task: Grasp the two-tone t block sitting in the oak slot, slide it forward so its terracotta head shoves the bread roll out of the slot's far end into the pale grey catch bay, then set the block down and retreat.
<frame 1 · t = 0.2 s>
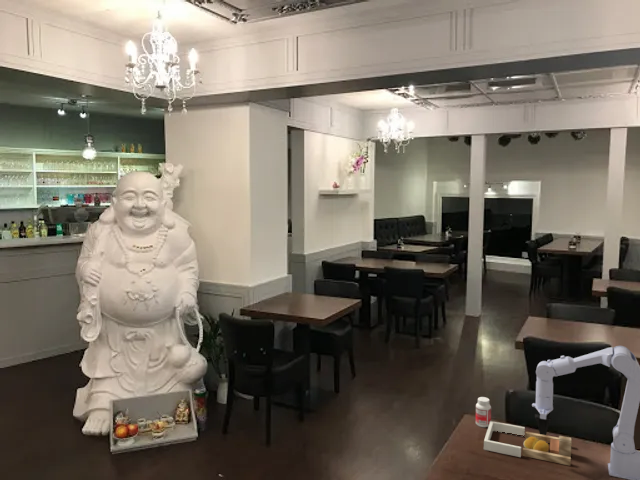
hand: (543, 429, 186), 10 cm above the table, fingers open, 7 cm apart
two-tone t block: (564, 454, 188), on the table
catch bay: (506, 442, 197), on the table
slot rails: (546, 450, 190), on the table
pill bottle: (483, 424, 212), on the table
bread roll: (536, 449, 192), on the table
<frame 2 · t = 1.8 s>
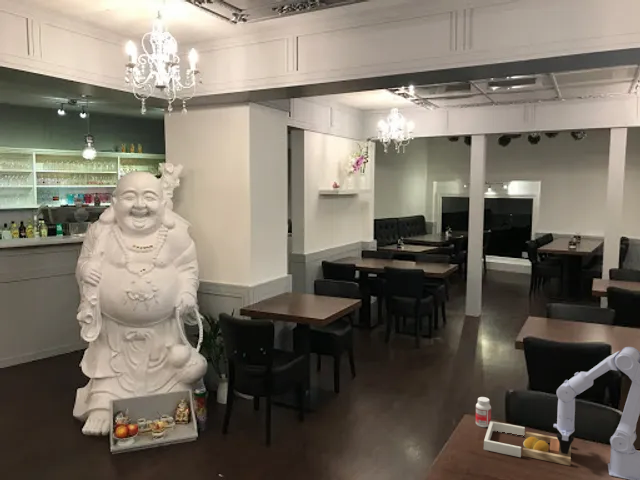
hand: (564, 450, 187), 2 cm above the table, fingers closed on two-tone t block, 4 cm apart
two-tone t block: (564, 454, 188), on the table, touching gripper
everything else where it was.
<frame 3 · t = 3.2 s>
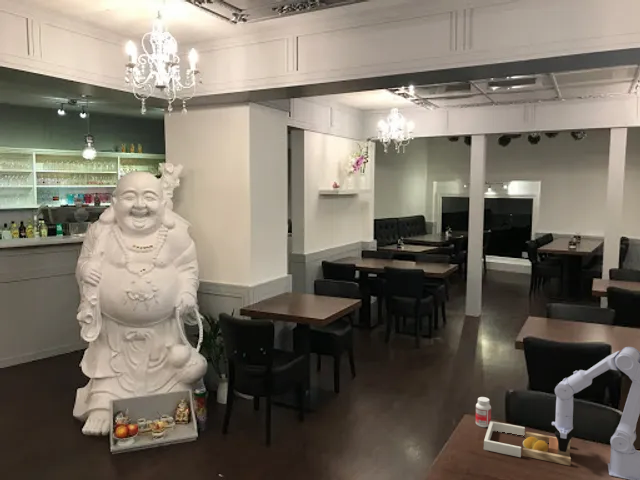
hand: (562, 448, 188), 2 cm above the table, fingers closed on two-tone t block, 4 cm apart
two-tone t block: (563, 452, 188), point 1 cm above the table, touching gripper
everything else where it was.
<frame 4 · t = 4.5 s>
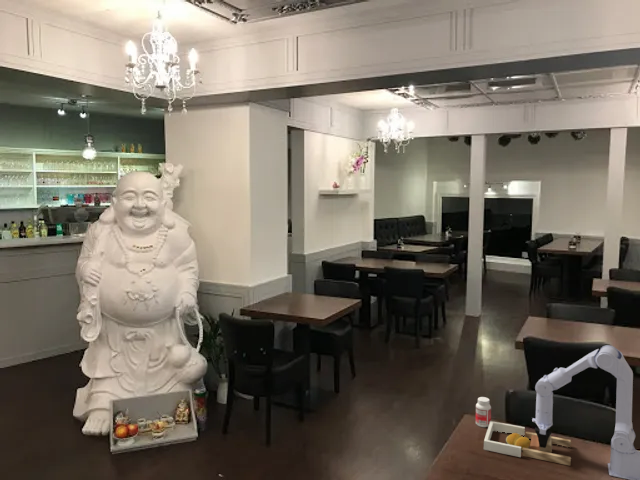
hand: (543, 444, 191), 2 cm above the table, fingers closed on two-tone t block, 4 cm apart
two-tone t block: (545, 449, 190), point 1 cm above the table, tilted 6°, touching gripper
bread roll: (518, 445, 195), on the table
everything else where it was.
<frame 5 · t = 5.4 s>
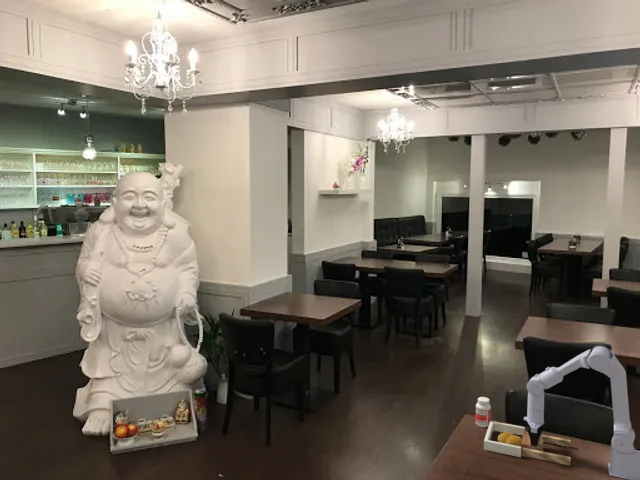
hand: (534, 442, 192), 2 cm above the table, fingers closed on two-tone t block, 4 cm apart
two-tone t block: (537, 447, 192), on the table, touching gripper
bread roll: (510, 444, 196), on the table
everything else where it was.
when the fingers open (2 cm above the table, at t = 7.1 s): two-tone t block stays where it is, on the table.
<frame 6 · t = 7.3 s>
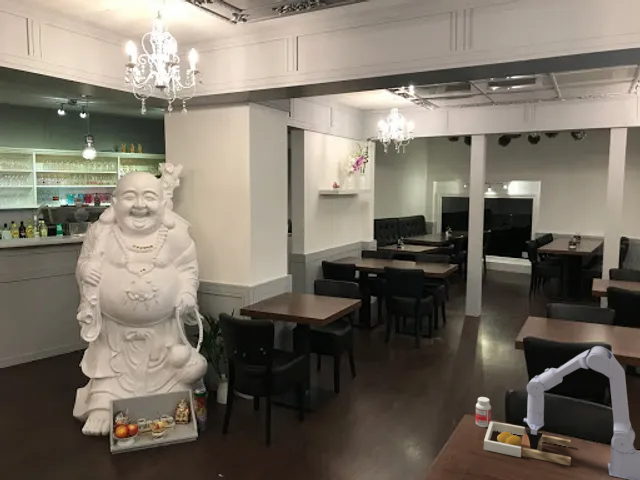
hand: (534, 444, 192), 2 cm above the table, fingers open, 7 cm apart
two-tone t block: (536, 448, 192), on the table, touching gripper
everything else where it was.
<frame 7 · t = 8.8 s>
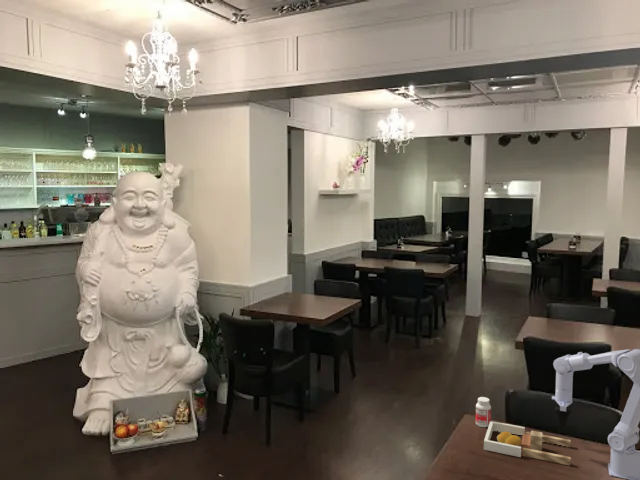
hand: (562, 421, 192), 10 cm above the table, fingers open, 7 cm apart
two-tone t block: (536, 448, 192), on the table
everything else where it was.
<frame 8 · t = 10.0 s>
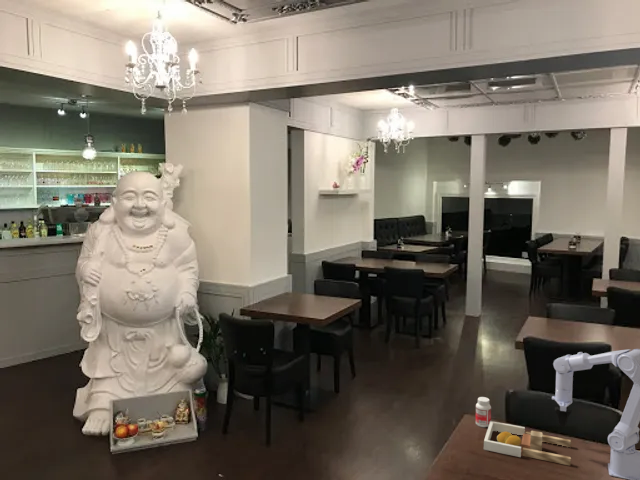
hand: (562, 421, 192), 10 cm above the table, fingers open, 7 cm apart
nothing on the table moved.
at the end: bread roll inside the target area (2.0 cm from its centre), on the table; the gripper is holding nothing; two-tone t block on the table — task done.
